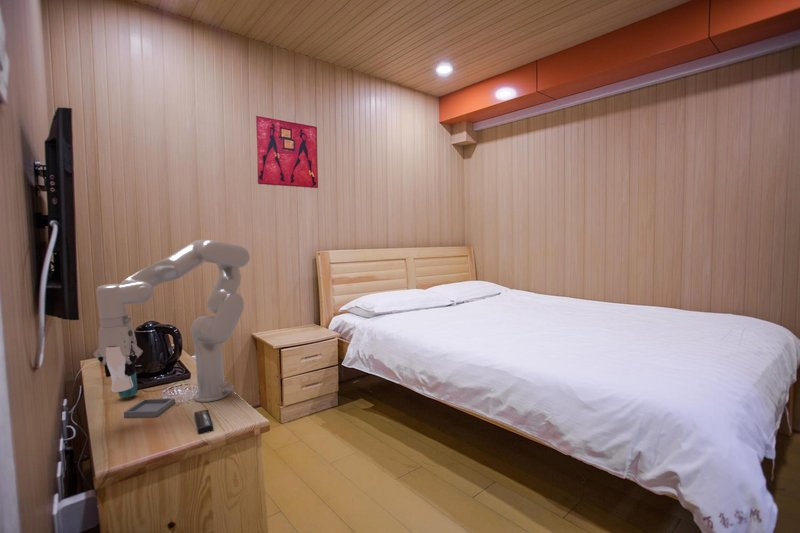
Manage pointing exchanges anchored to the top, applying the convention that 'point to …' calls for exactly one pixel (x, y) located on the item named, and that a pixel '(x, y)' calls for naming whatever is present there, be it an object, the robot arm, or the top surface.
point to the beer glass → (118, 369)
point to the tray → (149, 408)
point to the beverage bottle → (133, 390)
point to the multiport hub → (203, 421)
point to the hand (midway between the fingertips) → (120, 374)
